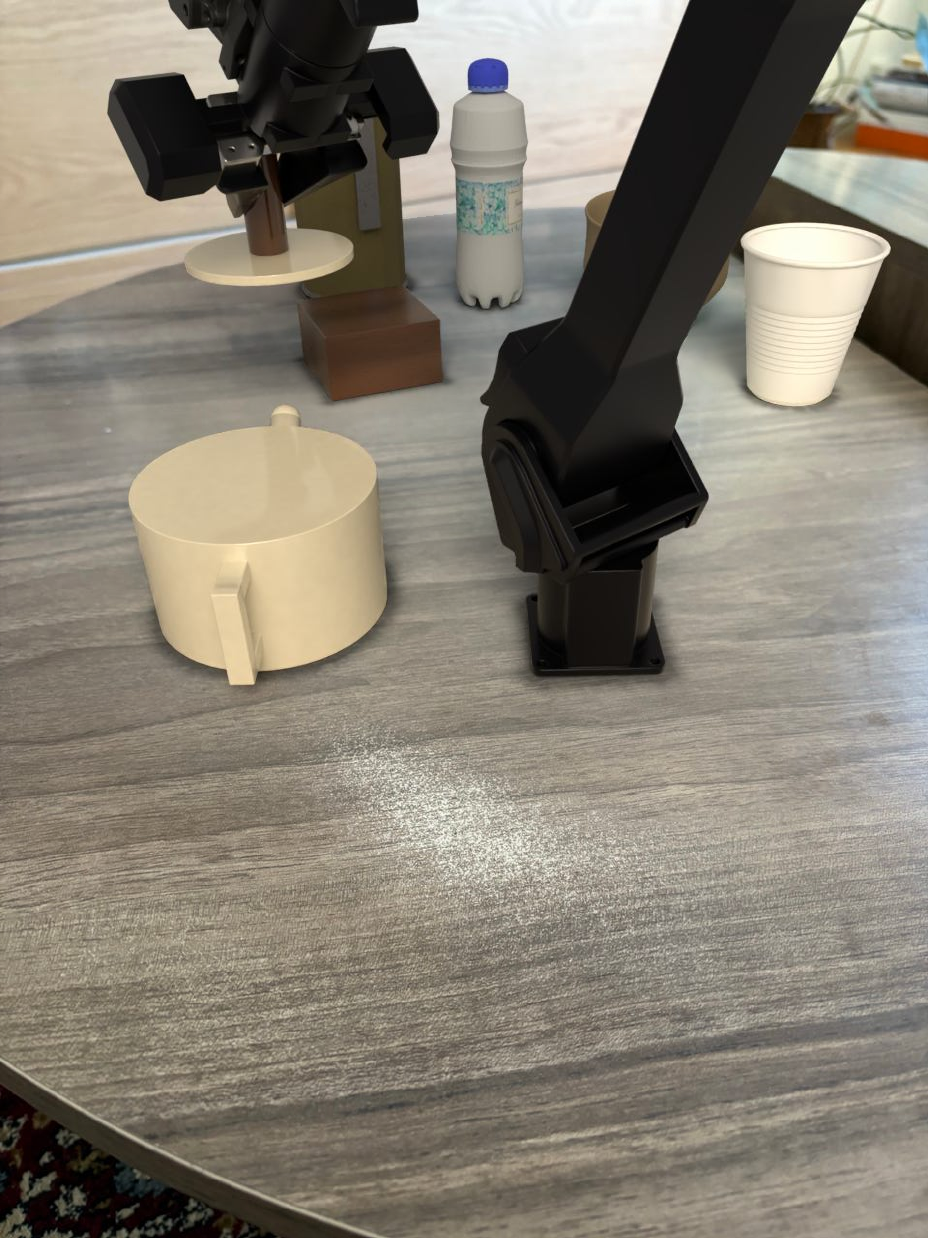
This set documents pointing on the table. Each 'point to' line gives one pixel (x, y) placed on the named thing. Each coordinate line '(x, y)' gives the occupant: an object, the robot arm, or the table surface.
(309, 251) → the lid
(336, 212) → the canister
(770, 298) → the cup
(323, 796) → the table surface
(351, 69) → the robot arm
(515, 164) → the bottle
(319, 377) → the stand
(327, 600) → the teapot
